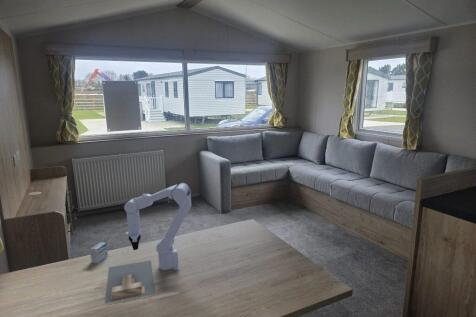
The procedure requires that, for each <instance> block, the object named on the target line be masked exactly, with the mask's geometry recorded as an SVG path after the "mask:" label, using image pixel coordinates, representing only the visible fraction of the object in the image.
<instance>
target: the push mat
mask: <svg viewBox="0 0 476 317" xmlns="http://www.w3.org/2000/svg"><path fill="white" fill-rule="evenodd" d="M107 272H108V274H107V281H106V289H105V290H106V291H105V298H104V304H108V306H109V305H111V303H113V305H115V304H116V302H118V301H119V302H118V304H120V303H121V301H122V300H125V301H123V303H125V302H126V300H128V299H130V300H128V302H129V301H131V299H133V301H134V300H135V301H136V298H138V299H141V298H140V297H143V299H144V298H146V296H148V298H150V297H151V295H153V297H155V295H154V294H156V290H155V281H154V275H153V274H154V273H153V266H152V260H145V261H139V262H133V263H126V264H120V265H114V266H109V267H108V271H107ZM129 274H131V278H132V284H133V283H138V282H141V283H142V292H137V293H132V294H127V295H122V296H116V297H112V287H116V286H122V285H123V275H129ZM114 302H115V303H114Z"/></svg>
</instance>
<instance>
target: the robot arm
mask: <svg viewBox="0 0 476 317" xmlns="http://www.w3.org/2000/svg"><path fill="white" fill-rule="evenodd" d="M191 194H192V190H191V188H190V186H189V185H188V184H187V183H185V182H181V183H179V184H174V185H172V186H169V187H167V188H164V189H162V190H160V191H158V192H155V193H153V194H150V193H142V194H141V195H140V196H138V197H133V198H131V199H130V200H129V201H126V203H125V204H124V206H123V208H124V211H125V212H126V217H127V219H126V221H127V222H126V223H127V231H126V232H125V235H126V236H128V241H129V242H130V243H131V246H132V250H133V251H138V249H139V243H140V240H141V238H142V237H141V234H142V233H141V232H142V231H141V230H142V229H141V219H140V210H142V209H144V208H147V207H149V206H151V205H153V203H154V202H155V201H159V200H161V199H165V198H168V199H171V200H174V201H175V202H176V204H177V205H178V207H179V208H178V210H177V212H176V214H175V216H174V218H173V220H172V221H171V223H170V225H169V227H168V229H167V231H166V232H165V234H164V235H163V236H162V237H161V239H160V241H159V242H158V243H157V245H156V247H155V248H156V249H155V250H156V252H157V254H158V268H159V269H160V270H162V271H166V270H167V271H168V270H171V269H173V271H177V270H179V253H178V250H177V249H176V248H174V247H173V245H174V244H175V243H174V242H175V237H176V236H177V233H178V231H179V230H180V228H181V226H182V224H183V222H184V221H185V219H186V217H187V216H188V213H189V212H190V210H191V207H192V195H191Z"/></svg>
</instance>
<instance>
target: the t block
mask: <svg viewBox="0 0 476 317" xmlns="http://www.w3.org/2000/svg"><path fill="white" fill-rule="evenodd" d="M137 292H142V283H141V282H138V283H133V284H132V278H131V274H129V275H123V285H122V286H116V287H112V297H116V296H122V295H127V294H132V293H137Z"/></svg>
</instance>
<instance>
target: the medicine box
mask: <svg viewBox="0 0 476 317" xmlns="http://www.w3.org/2000/svg"><path fill="white" fill-rule="evenodd" d="M89 253H90V262H91V263H92V264H100V263H102V262H103V261H104V260H105V259H106V258H108V257H109V254H108V253H109V252H108V243H107V242H104V241H103V242H98V243H96V244H95V245H94V246H92V247H91V248H89Z"/></svg>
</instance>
